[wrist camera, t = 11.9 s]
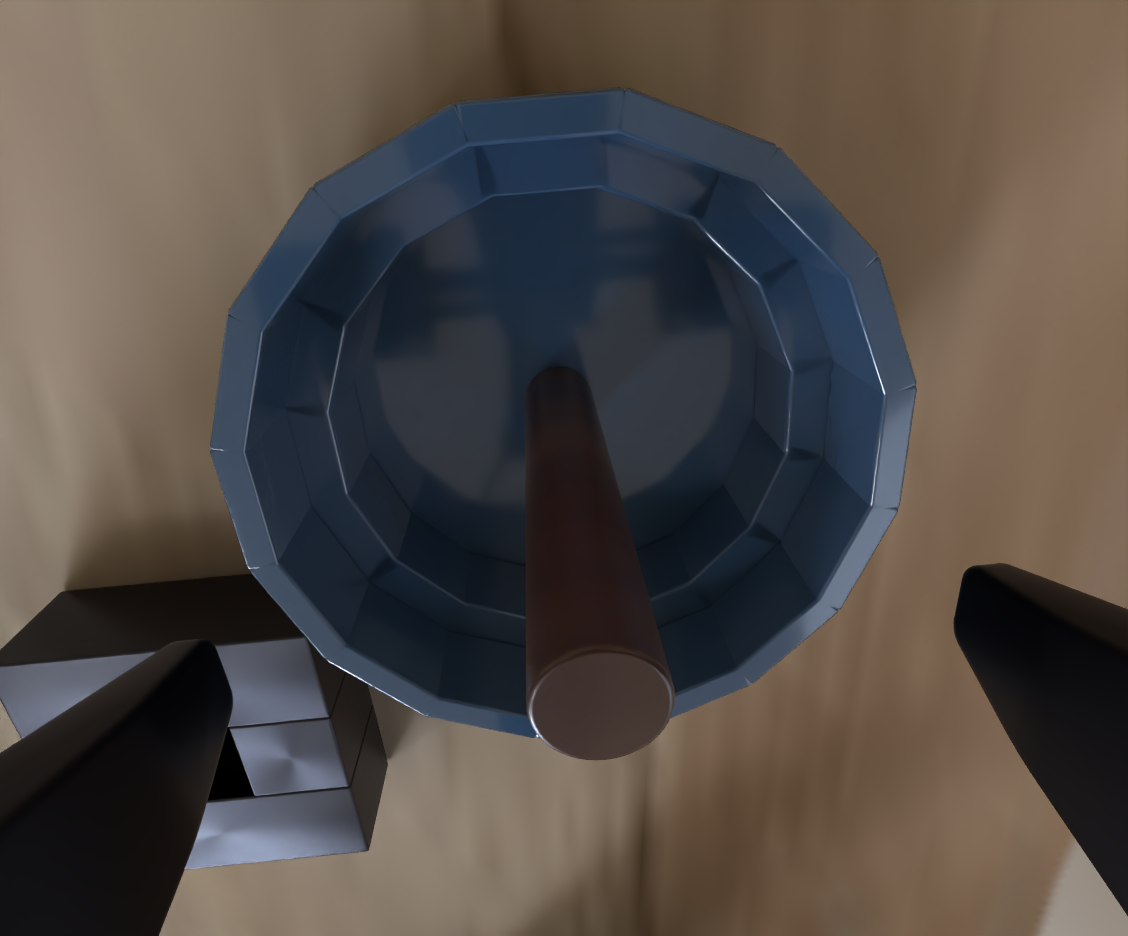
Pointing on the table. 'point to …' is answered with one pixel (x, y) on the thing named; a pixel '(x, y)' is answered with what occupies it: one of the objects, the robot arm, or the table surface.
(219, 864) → the holder
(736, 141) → the bowl
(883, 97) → the table surface
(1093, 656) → the robot arm
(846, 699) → the table surface
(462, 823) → the table surface
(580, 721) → the stick
